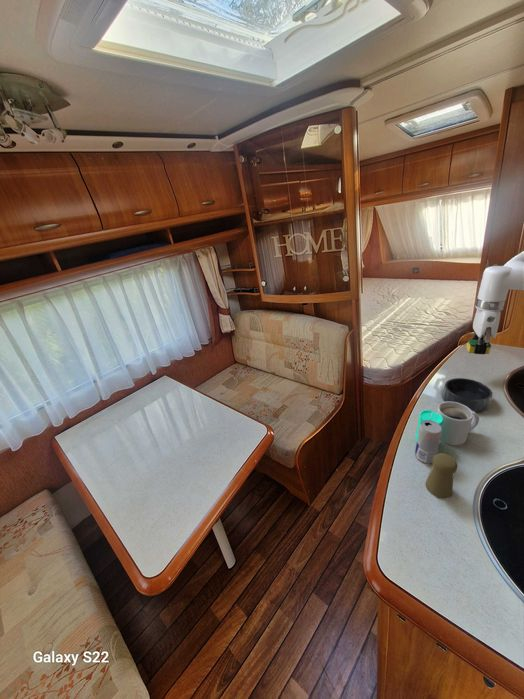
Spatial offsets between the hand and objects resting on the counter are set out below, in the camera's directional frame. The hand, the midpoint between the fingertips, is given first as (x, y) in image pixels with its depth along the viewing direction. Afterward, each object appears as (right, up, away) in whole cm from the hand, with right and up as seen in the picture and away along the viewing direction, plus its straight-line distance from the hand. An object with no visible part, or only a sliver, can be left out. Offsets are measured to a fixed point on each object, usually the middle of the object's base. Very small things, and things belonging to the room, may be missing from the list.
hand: (477, 350), depth 101 cm
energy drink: (-32, -32, -21) cm, 50 cm away
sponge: (0, 0, 0) cm, 0 cm away
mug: (-20, -27, -15) cm, 37 cm away
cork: (-34, -37, -29) cm, 58 cm away
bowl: (-7, -19, -2) cm, 20 cm away
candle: (-29, -29, -16) cm, 44 cm away
